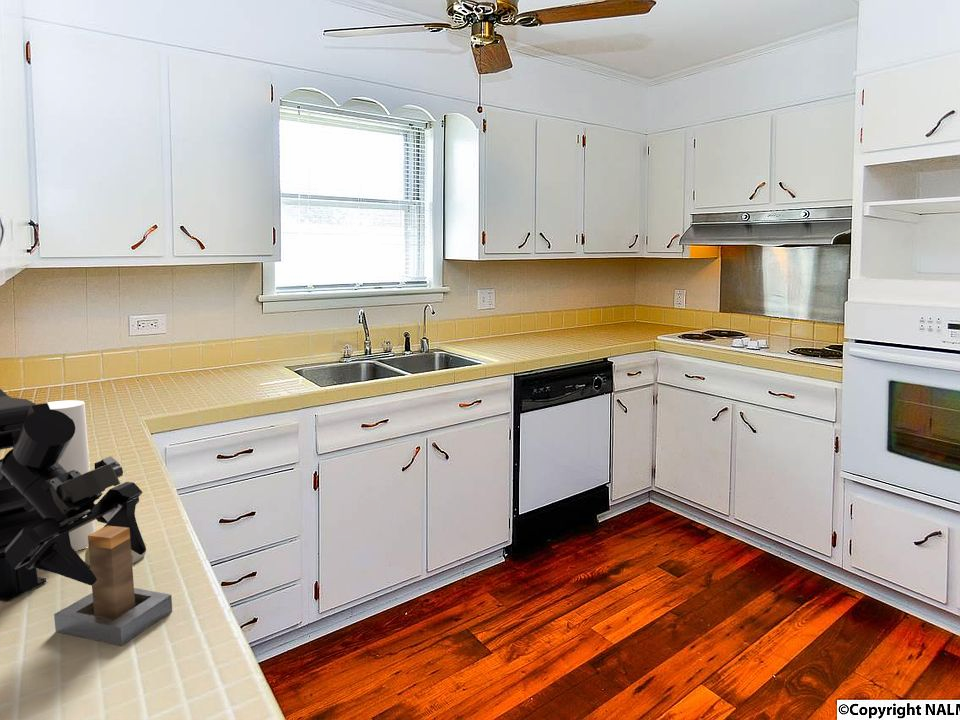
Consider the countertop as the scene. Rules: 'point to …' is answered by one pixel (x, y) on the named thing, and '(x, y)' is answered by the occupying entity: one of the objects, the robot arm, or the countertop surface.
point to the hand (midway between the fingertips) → (120, 567)
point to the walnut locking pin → (111, 571)
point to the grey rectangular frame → (120, 630)
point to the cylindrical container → (76, 459)
